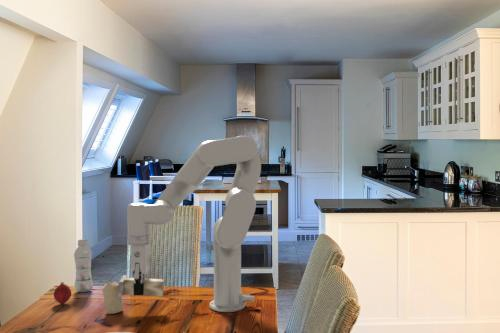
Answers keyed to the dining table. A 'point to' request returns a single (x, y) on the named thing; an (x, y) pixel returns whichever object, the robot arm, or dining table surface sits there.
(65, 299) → the onion
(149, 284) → the cream upright plaque
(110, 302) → the candle
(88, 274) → the plastic bottle
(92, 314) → the dining table surface
